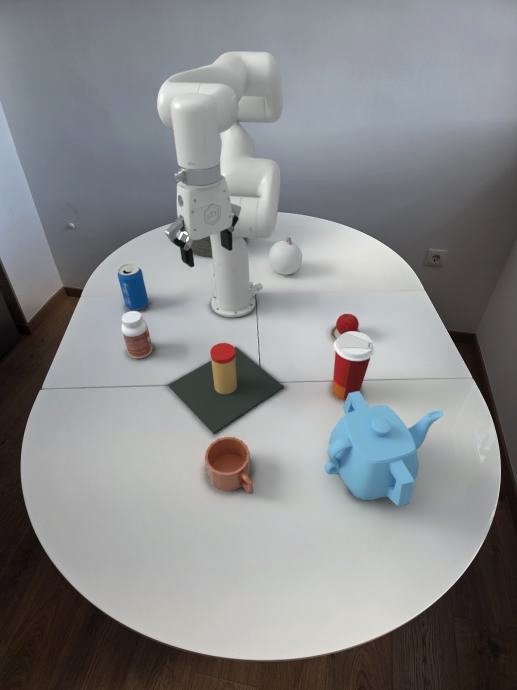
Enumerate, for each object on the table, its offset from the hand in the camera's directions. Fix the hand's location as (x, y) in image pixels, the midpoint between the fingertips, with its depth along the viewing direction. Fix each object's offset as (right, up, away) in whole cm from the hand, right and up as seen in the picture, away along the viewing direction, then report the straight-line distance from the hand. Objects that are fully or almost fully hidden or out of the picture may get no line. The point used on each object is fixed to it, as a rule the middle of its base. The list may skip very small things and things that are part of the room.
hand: (208, 256), depth 89 cm
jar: (+3, -28, +10) cm, 30 cm away
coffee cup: (+30, -29, +10) cm, 43 cm away
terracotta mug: (+6, -44, -6) cm, 45 cm away
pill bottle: (-20, -20, +20) cm, 35 cm away
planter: (-5, +18, +62) cm, 65 cm away
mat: (+3, -28, +11) cm, 30 cm away
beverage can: (-24, -7, +35) cm, 43 cm away
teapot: (+33, -43, -5) cm, 54 cm away
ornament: (+19, +5, +47) cm, 51 cm away
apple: (+33, -16, +24) cm, 44 cm away
